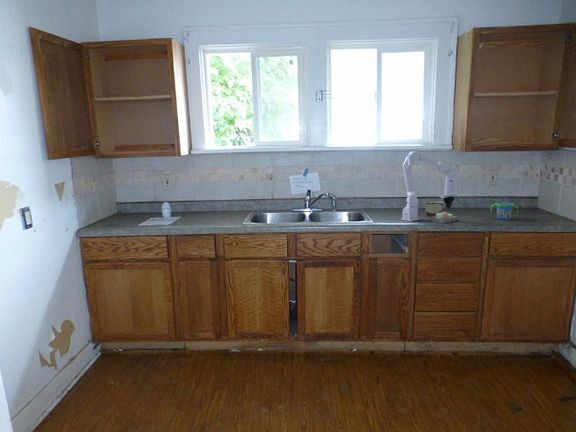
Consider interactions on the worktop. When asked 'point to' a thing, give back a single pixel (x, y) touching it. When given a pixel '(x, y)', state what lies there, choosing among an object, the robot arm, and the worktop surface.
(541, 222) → the worktop surface
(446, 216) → the key terracotta
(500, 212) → the snack cup
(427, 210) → the half round cake
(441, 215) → the key sage
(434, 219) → the key console
